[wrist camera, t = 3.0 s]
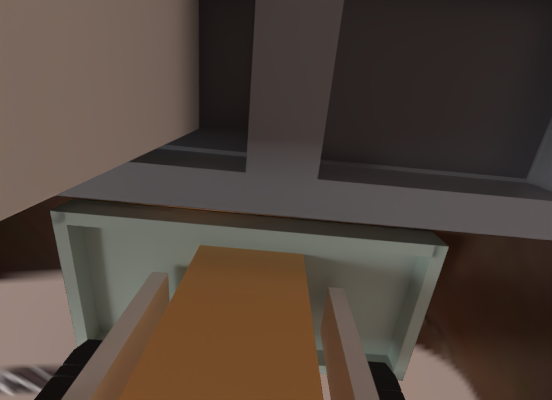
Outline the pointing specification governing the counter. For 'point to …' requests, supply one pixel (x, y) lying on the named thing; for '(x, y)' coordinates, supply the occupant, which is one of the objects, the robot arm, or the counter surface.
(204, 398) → the orange plug
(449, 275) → the counter surface
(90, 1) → the cream plug
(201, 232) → the tray
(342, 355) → the robot arm
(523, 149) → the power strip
